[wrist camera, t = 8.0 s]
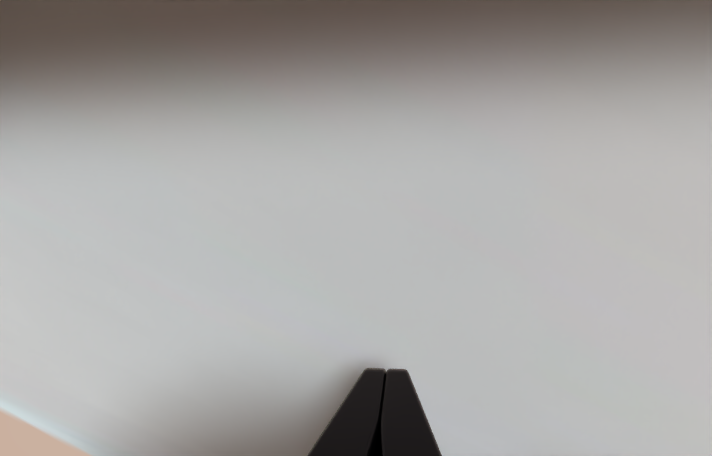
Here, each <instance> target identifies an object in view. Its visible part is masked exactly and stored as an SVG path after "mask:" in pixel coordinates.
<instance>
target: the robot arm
mask: <svg viewBox="0 0 712 456" xmlns="http://www.w3.org/2000/svg"><path fill="white" fill-rule="evenodd" d="M307 456H442V455H441V453H440V450H439V448H438V445H437V443H436V440H435V438H434V435H433V433H432V430H431V428H430V425H429V423H428V420H427V418H426V415H425V413H424V410H423V408H422V405H421V403H420V400H419V398H418V395H417V393H416V390H415V388H414V385H413V383H412V380H411V378H410V375H409V373H408V371H407V370H405V369H388V370H387V372H386V370H384V369H379V368H367V369H365V370H364V371H363V373H362V374H361V376H360V377H359V379H358V380H357V382H356V383H355V385H354V386H353V388H352V389H351V391H350V392H349V394H348V395H347V397H346V398H345V400H344V401H343V403H342V404H341V406H340V407H339V409H338V410H337V412H336V413H335V415H334V416H333V418H332V419H331V421H330V422H329V424H328V425H327V427H326V428H325V430H324V431H323V433H322V434H321V436H320V437H319V439H318V440H317V442H316V443H315V445H314V446H313V448H312V449H311V451H310V452H309V454H308V455H307Z"/></svg>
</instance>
